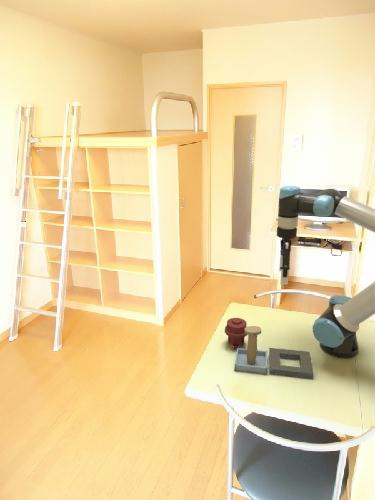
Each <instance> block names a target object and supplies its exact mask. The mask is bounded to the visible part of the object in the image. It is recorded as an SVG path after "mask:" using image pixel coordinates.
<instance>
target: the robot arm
mask: <svg viewBox="0 0 375 500" xmlns="http://www.w3.org/2000/svg"><path fill="white" fill-rule="evenodd" d="M301 191H302V190H301V188H300V186H296V185H285V186H282V187H281V188H280V189H279V195H278V208H277V209H278V211H277V212H278V213H277V217H276V219H275V220H276V221H277V224H276V225H277V227H276V236H277V237H278V238H279V239H280V250H279V251H280V252H279V253H280V254H279V255H280V257H279V272H280V274H281V275H280V285H284V286H285V285H289V275H290V273H289V271H290V269H291V267H290V263H291V262H290V260H291V259H290V258H291V251H292V248H291V247H292V240H291V239H295V238H296V237H297V236H298V235H297V234H298V228H297V227H298V225H299V223H298V222H299V214H301V215H308V216H315V217H318V218H319V217H320V218H321V217H326V218H327V217H330V216H331V215H332V214H333V215H336V216H338V217H340V218H342V219H345V220H347V221H348V222H351V223H353V224H355V225H358V226H359V227H361V228H364V229H366V230H368V231H370V232H372V233H375V208H373V207H371V206H369V205H366V204H364V203H362V202H359V201H357V200H354V199H353V198H349V197H347V196H345V195H343V194H341V192H340V191H339V190H338V189H336V188H326V189H323V190H321V191H318V192H316V193H304V192H301ZM374 315H375V281H373V282H372V283H370V284H369V285H367V286H366V287H365V288H364V289H362V290H361V291H359V292H358V293H357V294H355V295H354V296H353V297H350V296H345V295H340V294H339V295H332V296H331V297H330V298H329V300H328V307H327V308H326V309H325V310H324V311H323V313H322V314H320V316H318V318H317V319H315V321H314V322H313V324H312V334H313V336H314V338H315V339H316V340H317V341H318V343H319V346H320V349H321V350H322V351H324V353H326V354H328V355H329V356H332V357H335V358H339V359H340V358H341V359H350V358H354V357H356V356H357V355H358V354H359V342H358V338H357V332H358V331H359V329H360V324H362V323H363V322H364V321H366V320H369V318H371V317H373V316H374Z"/></svg>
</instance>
